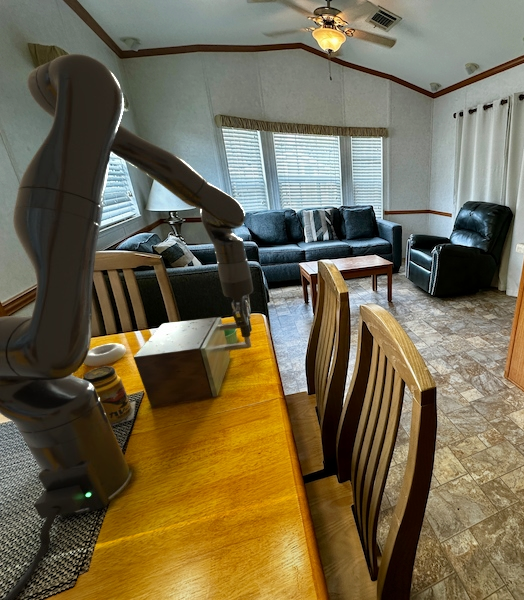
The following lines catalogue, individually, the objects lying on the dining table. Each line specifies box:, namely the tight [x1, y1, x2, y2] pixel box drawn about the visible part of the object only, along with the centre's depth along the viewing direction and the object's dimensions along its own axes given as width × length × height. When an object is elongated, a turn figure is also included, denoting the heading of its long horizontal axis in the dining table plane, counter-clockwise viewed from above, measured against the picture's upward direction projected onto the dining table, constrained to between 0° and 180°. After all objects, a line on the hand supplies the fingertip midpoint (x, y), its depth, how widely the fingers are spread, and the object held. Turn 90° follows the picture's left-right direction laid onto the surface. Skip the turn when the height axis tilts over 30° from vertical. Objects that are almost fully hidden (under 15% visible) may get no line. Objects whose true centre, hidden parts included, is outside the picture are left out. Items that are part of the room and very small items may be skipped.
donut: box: [83, 342, 127, 367], centre depth 97 cm, size 10×4×10 cm
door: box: [201, 317, 252, 398], centre depth 87 cm, size 8×18×14 cm, turn 17°
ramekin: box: [224, 328, 238, 344], centre depth 105 cm, size 9×9×4 cm
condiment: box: [82, 365, 137, 427], centre depth 72 cm, size 7×8×12 cm
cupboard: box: [133, 317, 217, 409], centre depth 85 cm, size 13×18×14 cm
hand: (247, 333), depth 94 cm, fingers closed
